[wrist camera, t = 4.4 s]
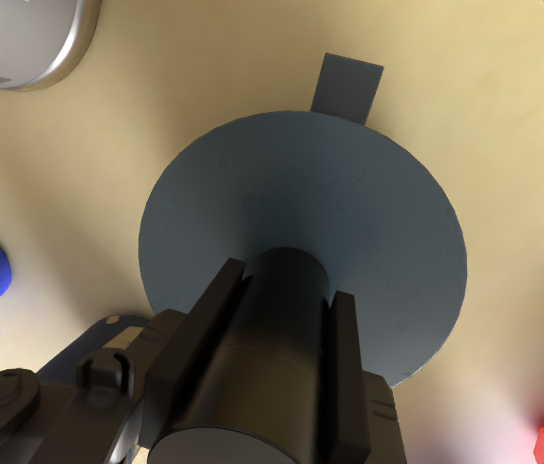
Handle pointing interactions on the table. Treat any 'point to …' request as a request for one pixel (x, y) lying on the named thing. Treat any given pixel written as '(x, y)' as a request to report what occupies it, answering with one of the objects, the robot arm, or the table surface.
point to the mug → (4, 273)
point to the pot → (346, 88)
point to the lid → (295, 276)
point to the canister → (98, 336)
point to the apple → (539, 447)
